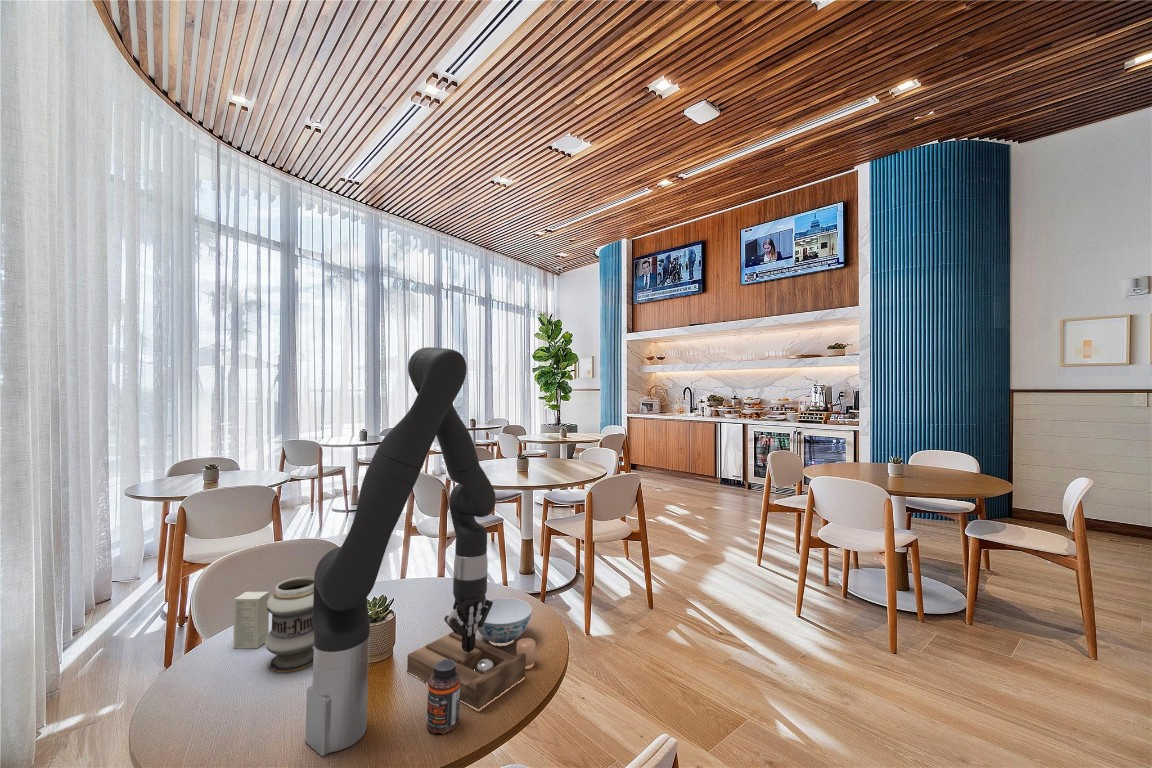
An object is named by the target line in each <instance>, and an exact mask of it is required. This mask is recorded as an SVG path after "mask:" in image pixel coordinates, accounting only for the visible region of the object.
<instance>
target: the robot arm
mask: <svg viewBox="0 0 1152 768" xmlns="http://www.w3.org/2000/svg"><path fill="white" fill-rule="evenodd" d="M407 372H408V376H409V380H410V381H411V384H412V385H413V388H414V389H415V392H416V394H417V396H416V398H415V400H414V402H413V403H412V406H411V407H410V409H409V410H408V411H407V413H406V414H405V415H404V417H402V418H401V420H400V421H399V422H397V423H396V425H395V426H393V428H392V429H391V430H390V431H389V432H388V433H387V434H386V435H385V437H384V438H383V439H382V440H381V442H380V443H379V444H378V447H377V448H376V450H375V453H374V455H373V457H372V458H371V461H370V463H369V465H368V467H367V468H366V469H367V470H366V471H365V474H364V477H363V480H362V483H361V485H360V486H361V487H360V490H359V494H358V495H359V496H358V499H357V500H358V501H357V505H356V508H355V509H356V510H355V513H354V514H355V515H354V517H353V520H352V524H351V526H350V529H349V531H348V533H347V536H346V537H345V539H344V541H343V543H342V545H341V546H339V547H335V548H333V549H331V550H329V551H328V552H326V553H325V554H324V555H323V557H321V558H320V560H319V561H318V563H317V566H316V568H315V572H314V597H313V627H314V646H313V649H314V655H313V663H312V683H311V684H312V685H310V686H308V687H307V688H306V705H305V706H306V709H305V732H304V733H305V734H304V737H305V738H304V742H305V744H307V745H308V746H309V747H311V749H313V751H315V752H316V753H317V754H318V755H320V756H321V757H324V756H327V754H330V753H334V752H339V751H342V750H345V749H347V748H350V747H351V746H353V745H354V744H356V743H357V742H359V740H361V739H362V738H363V737H364V735H365V733H366V731H367V719H368V694H369V693H368V691H369V689H368V688H369V664H370V662H369V660H370V634H371V633H370V632H371V631H370V630H371V620H370V615H369V607H368V597H369V595H370V593H371V592H372V590H373V588H374V586H375V584H376V582H377V577H378V574H379V571H380V569H381V566H382V562H383V559H384V556H385V553H386V551H387V550H386V549H387V547H388V544H389V543H390V542H389V541H390V539H391V536H392V533H394V529H395V527H396V525H397V524H398V521H399V519H400V517H401V515H402V513H403V511H404V509H405V506H406V504H407V502H408V500H409V497H410V495H411V493H412V491H413V489H414V487H415V485H416V482H417V480H418V478H419V475H420V474H421V472H422V469H423V466H424V464H425V461H426V459H427V456H428V454H429V451H430V449H431V447H432V445H433V443H434V441H435V439H437V442H438V444H439V448H440V449H441V454H442V457H443V460H444V465H445V467H446V471H447V474H448V476H449V478H450V480H452V481H454V482H455V483H458V484H456V485H455V486H454V487H453V488H452V490H451V492H450V495H449V499H448V500H449V502H448V506H449V507H448V508H449V511H450V512H449V513H450V515H451V521H452V522H451V523H452V525H453V529H454V533H455V548H454V549H455V550H454V551H455V555H454V560H453V561H454V562H453V578H452V579H453V581H452V595H453V597H454V601H453V602H454V603H453V605H452V606H453V607H452V611H451V613H450V614H449V615H445V617H444V619H443V620H444V622H445V623H446V624H447V626H449V628H450V629H451V630H452V632H454V633H455V634H458V635H460V636H462V649H463V650H464V651H465V652H468V653H469V652H471V651H472V650H474V647H475V639H476V634H477V632H478V628H479V627H480V628H481V627H482V626H483V624H484V622H485V620H486V618H487V615H488V613H489V611H490V609H491V607H492V604H493V602H492V601H490V600H491V599H487V598H486V594H487V591H488V566H489V565H488V553H487V552H488V530H487V528H486V527H485V526H483V525H482V524H480V523H478V521H476V518H485V517H487V516H489V515H490V514H491V513H492V512H493V511H494V509H495V506H496V501H497V499H496V498H497V497H496V491H495V490H494V489H495V488H494V486H493V485H492V483H491V481H490V479H489V478H488V475H486V472H485V471H484V469H483V467H482V465H480V461H479V458H478V454H477V451H476V446H475V443H474V440H473V438H472V436H471V433H470V432H469V430H468V428H467V426H466V425H465V423H464V422H463V420H462V418H461V417H460V415H459V414H458V412H457V410H456V408H455V406H454V404H453V403H454V401H455V400H456V398H457V396H458V394H459V392H460V391H461V389H462V387H463V385H464V383H465V380H466V376H467V363H466V360H465V357H464V356H463V354H462V353H460V352H459V351H458V350H455V349H452V348H444V347H443V348H441V347H431V346H430V347H427V346H426V347H422V348H419V349H417V350H416V351H414V353H412V355H411V356H410V358H409V360H408V364H407ZM475 517H476V518H475ZM481 615H482V617H481V619H480V616H481Z"/></svg>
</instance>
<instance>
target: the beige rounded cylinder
mask: <svg viewBox="0 0 1152 768" xmlns="http://www.w3.org/2000/svg"><path fill="white" fill-rule="evenodd" d="M515 649H516V650H515V651H516V653H515V654H516V655H515V656H516V657H517V656H519V655H520V654H522V653H525V654H526V666H528V665H531V664H533V663H534V662H535V663H536V641H535V639H533V638H528V637H526V638H525V637H524V638H520V639H518V640H517V641H516V648H515Z"/></svg>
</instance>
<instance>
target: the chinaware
mask: <svg viewBox="0 0 1152 768" xmlns="http://www.w3.org/2000/svg"><path fill="white" fill-rule="evenodd" d="M489 600H490V601H492V602H493V604H492V607H491V609H490V611H489V613H488V615H487V618H486V620H485V622H484V624H483V626H482V627H481V628H480V627H479V628H478V629H477V632H479V634H480V635H481V636H482V637H483V638H485V639H486V641H487V640H488V642H489V641H491V642H494V643H507V642H510V641H512V640H514V639H515V640H516V639H518V638H519V637H520V636H521V635H522V634H523V633H524V632H525V631H526V629H527V627H528V625H529V623H530V620H531V616H532V613H533V609H532V605H530V603H528V602H527V601H525V600H522V599H519V598H512V597H499V598H497V597H496V598H492V599H489ZM481 617H482V615H481V616H480V619H481Z"/></svg>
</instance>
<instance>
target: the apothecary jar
mask: <svg viewBox="0 0 1152 768" xmlns="http://www.w3.org/2000/svg"><path fill="white" fill-rule="evenodd" d="M313 597H314V577H313V576H298V577H293V578H288V579H285V580H283V581H281V582H279V583H277V585H276V586H275V589H274V592H273V594H271V596H269V599H268V601H267V604H266V608H267V610H268V611H269V614H271V630H269V633H268V635H267V637H266V639H265V643H264V646H265V649H266V650H268V652H270V653H271V654H273V655H275V656H274V657H273V658H272V659H271V661H270V663H269V665H268V666H269V668H270V669H273V670H274V672H276V673H289V672H296V671H298V670H302V669H305V668H307V667H309V666H311V665H313V655H314V627H313Z"/></svg>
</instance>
